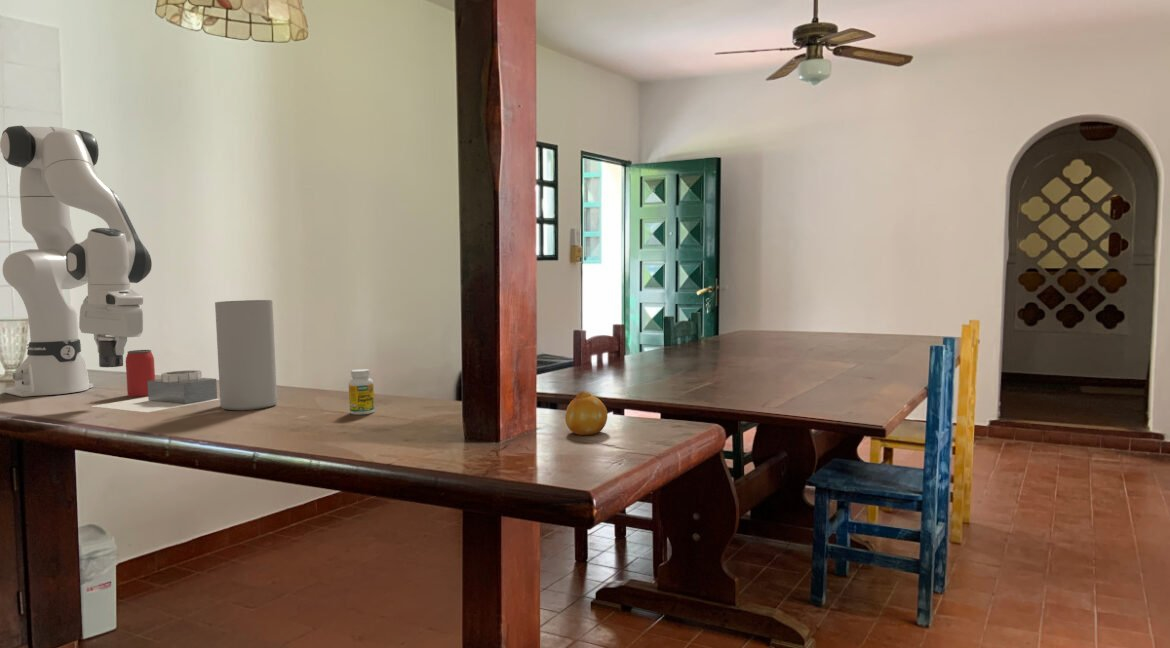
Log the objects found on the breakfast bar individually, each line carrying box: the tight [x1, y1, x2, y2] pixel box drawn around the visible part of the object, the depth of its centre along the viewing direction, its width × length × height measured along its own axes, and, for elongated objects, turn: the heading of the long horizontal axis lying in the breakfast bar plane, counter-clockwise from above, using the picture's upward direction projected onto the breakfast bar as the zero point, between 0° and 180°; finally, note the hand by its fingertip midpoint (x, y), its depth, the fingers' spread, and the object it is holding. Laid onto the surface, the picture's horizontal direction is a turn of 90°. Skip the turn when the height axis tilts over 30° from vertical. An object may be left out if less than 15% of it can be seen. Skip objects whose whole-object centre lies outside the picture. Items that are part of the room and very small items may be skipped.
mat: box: [90, 396, 220, 414], centre depth 204 cm, size 22×20×1 cm
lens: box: [98, 335, 124, 368], centre depth 200 cm, size 5×5×7 cm
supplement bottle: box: [348, 368, 375, 416], centre depth 185 cm, size 5×5×10 cm
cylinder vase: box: [214, 299, 278, 411], centre depth 197 cm, size 12×12×25 cm
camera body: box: [147, 369, 218, 404], centre depth 208 cm, size 14×9×7 cm, turn 61°
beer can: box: [125, 349, 156, 398], centre depth 217 cm, size 7×7×12 cm
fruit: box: [564, 391, 608, 436], centre depth 158 cm, size 8×8×8 cm
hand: (110, 353), depth 200 cm, fingers closed on lens, 5 cm apart
